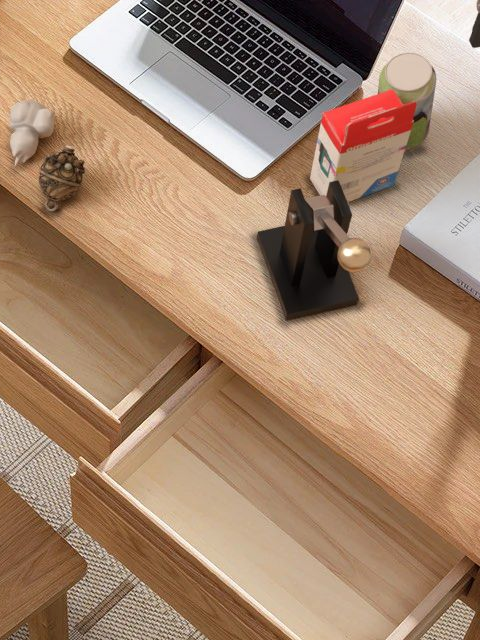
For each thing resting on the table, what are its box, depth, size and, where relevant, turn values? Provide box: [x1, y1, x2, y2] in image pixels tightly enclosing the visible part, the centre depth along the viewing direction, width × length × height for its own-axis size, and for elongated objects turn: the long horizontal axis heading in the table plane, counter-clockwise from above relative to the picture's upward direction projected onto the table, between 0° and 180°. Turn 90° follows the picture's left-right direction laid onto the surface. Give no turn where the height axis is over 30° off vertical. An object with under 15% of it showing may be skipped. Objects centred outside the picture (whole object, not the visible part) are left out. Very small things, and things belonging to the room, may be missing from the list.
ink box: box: [309, 89, 417, 203], centre depth 134 cm, size 8×5×15 cm, turn 111°
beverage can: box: [377, 52, 437, 151], centre depth 138 cm, size 6×7×12 cm
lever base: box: [256, 180, 360, 321], centre depth 130 cm, size 11×8×13 cm
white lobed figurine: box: [9, 99, 55, 167], centre depth 143 cm, size 5×7×8 cm
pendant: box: [38, 145, 86, 213], centre depth 140 cm, size 5×8×5 cm
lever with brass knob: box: [305, 194, 373, 273], centre depth 122 cm, size 13×3×3 cm, turn 13°
